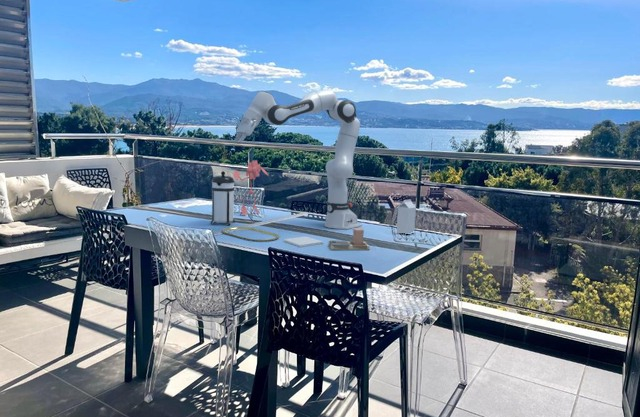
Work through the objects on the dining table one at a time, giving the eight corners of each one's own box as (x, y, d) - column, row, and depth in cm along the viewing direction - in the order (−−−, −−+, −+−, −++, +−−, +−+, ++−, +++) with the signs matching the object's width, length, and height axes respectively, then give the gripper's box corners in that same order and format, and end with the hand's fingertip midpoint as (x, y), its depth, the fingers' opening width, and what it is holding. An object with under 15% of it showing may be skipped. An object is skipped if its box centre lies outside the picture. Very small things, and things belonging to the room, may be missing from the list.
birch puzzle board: (328, 245, 238) (328, 238, 237) (364, 245, 241) (364, 238, 240) (331, 250, 229) (331, 243, 228) (369, 250, 232) (369, 242, 231)
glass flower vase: (229, 215, 308) (230, 159, 302) (259, 211, 327) (261, 159, 321) (245, 219, 298) (247, 162, 292) (276, 215, 318) (278, 161, 312)
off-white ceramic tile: (305, 238, 252) (305, 236, 252) (323, 243, 241) (323, 241, 241) (283, 241, 243) (283, 239, 243) (300, 247, 232) (300, 245, 232)
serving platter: (258, 244, 237) (258, 241, 237) (215, 232, 260) (215, 229, 260) (286, 239, 251) (286, 236, 250) (243, 228, 274) (243, 225, 274)
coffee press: (242, 224, 281) (242, 172, 277) (215, 226, 272) (215, 172, 268) (229, 219, 295) (229, 169, 291) (203, 221, 286) (203, 170, 282)
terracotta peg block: (352, 246, 237) (353, 228, 236) (360, 246, 238) (361, 228, 236) (354, 248, 233) (355, 230, 232) (362, 248, 234) (363, 230, 233)
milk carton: (414, 233, 274) (416, 200, 271) (407, 235, 269) (409, 201, 266) (403, 231, 279) (405, 198, 276) (396, 233, 273) (398, 199, 270)
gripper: (261, 122, 250) (247, 145, 249) (251, 121, 269) (238, 143, 268) (251, 115, 247) (237, 138, 247) (242, 115, 266) (228, 137, 265)
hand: (237, 141), depth 257 cm, fingers open, 8 cm apart
